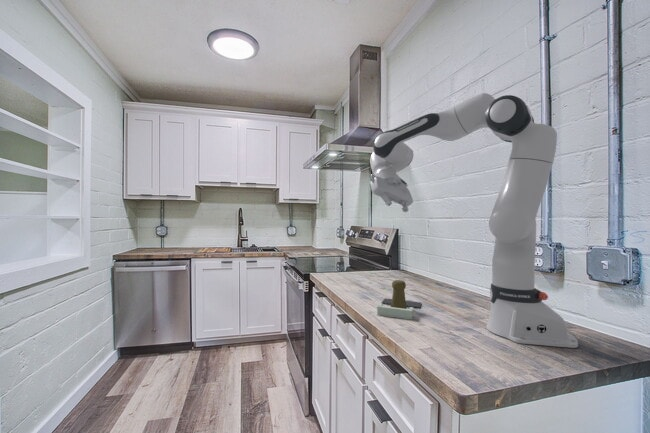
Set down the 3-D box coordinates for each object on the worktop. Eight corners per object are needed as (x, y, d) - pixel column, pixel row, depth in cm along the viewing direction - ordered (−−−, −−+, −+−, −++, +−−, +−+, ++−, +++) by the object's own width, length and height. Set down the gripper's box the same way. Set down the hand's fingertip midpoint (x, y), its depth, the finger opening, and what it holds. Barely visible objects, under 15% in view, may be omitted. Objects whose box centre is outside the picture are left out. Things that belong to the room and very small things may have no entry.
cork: (405, 306, 115) (405, 279, 115) (408, 311, 109) (408, 282, 109) (389, 306, 116) (389, 278, 116) (391, 311, 110) (391, 281, 110)
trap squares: (421, 303, 120) (421, 302, 120) (419, 308, 113) (419, 307, 113) (384, 299, 125) (384, 298, 125) (381, 303, 119) (381, 302, 119)
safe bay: (413, 315, 105) (413, 307, 105) (411, 319, 100) (411, 310, 100) (379, 311, 109) (379, 303, 109) (377, 314, 105) (377, 306, 105)
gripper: (374, 168, 111) (384, 195, 103) (409, 184, 122) (420, 209, 114) (363, 178, 115) (372, 205, 107) (398, 193, 126) (409, 218, 118)
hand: (397, 207), depth 110 cm, fingers open, 8 cm apart
